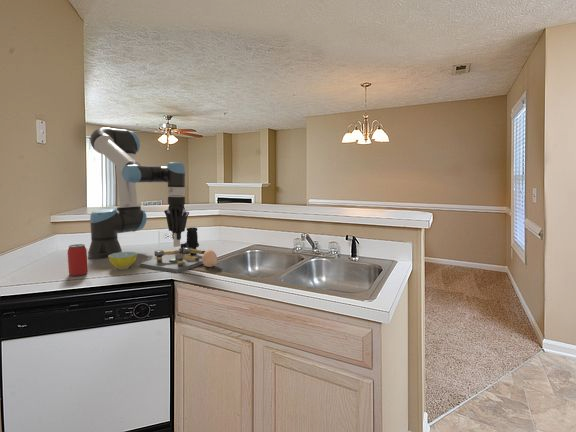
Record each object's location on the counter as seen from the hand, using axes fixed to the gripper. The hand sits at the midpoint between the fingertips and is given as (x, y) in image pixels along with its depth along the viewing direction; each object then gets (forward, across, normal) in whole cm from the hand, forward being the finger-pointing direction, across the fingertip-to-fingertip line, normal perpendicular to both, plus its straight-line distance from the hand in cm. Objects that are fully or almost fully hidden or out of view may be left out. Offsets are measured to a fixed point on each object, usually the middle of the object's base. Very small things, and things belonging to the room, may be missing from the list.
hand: (176, 246), depth 158 cm
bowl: (+8, -14, -18) cm, 24 cm away
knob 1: (+6, +7, +4) cm, 10 cm away
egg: (+8, +18, +1) cm, 20 cm away
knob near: (+6, -1, -4) cm, 8 cm away
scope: (+8, -6, +17) cm, 20 cm away
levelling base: (+8, +1, -3) cm, 9 cm away
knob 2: (+6, +13, -8) cm, 17 cm away
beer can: (+9, -22, -33) cm, 40 cm away
